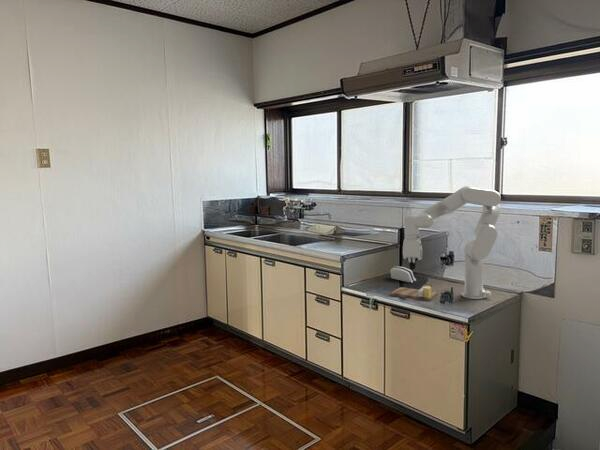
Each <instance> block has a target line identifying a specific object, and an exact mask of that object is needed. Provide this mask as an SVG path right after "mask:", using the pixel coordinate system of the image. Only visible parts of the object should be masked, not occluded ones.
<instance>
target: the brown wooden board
mask: <svg viewBox="0 0 600 450" xmlns="http://www.w3.org/2000/svg"><path fill="white" fill-rule="evenodd" d="M419 290H420V289H417V288H410V287H409V288H408V287H401V286H400V287H398V288H396V289H395V290H393V291H392V292H390V296H392V297H399V298H406V299H413V300H419V301H427V302H432V300H435V298H437V297H438V296H439V295H440V294H439V291H438V292H437V291H433V290H431V296H430V297H429V298H428V297H419V296H418V291H419Z"/></svg>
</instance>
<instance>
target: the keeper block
mask: <svg viewBox="0 0 600 450" xmlns="http://www.w3.org/2000/svg"><path fill="white" fill-rule="evenodd" d="M428 286H429V285H428ZM428 286H425V287H424V288H423V297H428V298H429V297H430V296H431V291H432V287H431V286H429V287H428Z"/></svg>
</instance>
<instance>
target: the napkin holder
mask: <svg viewBox="0 0 600 450" xmlns="http://www.w3.org/2000/svg"><path fill="white" fill-rule="evenodd" d="M389 271H390V278H391V279H393V280H397V281H398V280H399V281H402V282H406V283H410V282H411V283H414V282H417V278H415V275H414V273H413V270H410V268H407V267H405V266H394V267H392V268H391V269H390V270H389Z"/></svg>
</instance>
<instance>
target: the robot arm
mask: <svg viewBox="0 0 600 450" xmlns="http://www.w3.org/2000/svg"><path fill="white" fill-rule="evenodd" d="M501 199H502V197H501V194H500V193H499V192H498V191H496V190H493V189H489V188H486V189H483V188H479V187H472V186H466V185H465V186H463V187H461V188H459V189H457V190H456V191H455V192H454V193H451V194H450V195H449V196H447V197H446V198H445V197H444V199H441V200H440V201H439V202H436V203H435V204H433V205H431V206H430V207H427V208H426V209H424V210H423V211H422V212H420V213H419V214H418V215H416V214H407V215H405V216H404V218H403V219H404V221H403V222H404V224H403V225H404V239H403V242H402V243H403V244H402V258H403V260H406V261H408V263H409V270H411V271H414V270H415V269H416V268H417V266H416V265H417V264H416V263H417V262H418V261H420V260H422V259H423V246H422V241H421V238H422V235H420V233H419V229H429V228H432V226H433V225H434V220H436V219H438V218H439V217H442V216H445V215H449V214H452V213H455V211H457V210H459V209H460V208H462V207H463V206H465V205H467V204H472V205H477V206H482V212H481V214H480V217H479V219H478V221H477V223H476V225H475V227H474V229H473V233H474V235H475V237H476V238H475V239H470V240H468V241H467V242H466V243H465V244H464V249H463V250H464V291H463V292H461V296H462V297H463V298H465V299H470V300H471V299H472V300H481V299H482V300H483V299H485V298H487V297H486V296H489V297H490V296H492V292H491V291H489V290H486V289H485V287H484V260H486V258H488V256H489V255H490V253H491V250H492V249H493V247H494V244H495V243H496V240H497V238H498V230H497V228H496V227H495V226H496V224H497V221H498V219H499V216H500V212H501V211H500V210H501V207H500V203H501Z"/></svg>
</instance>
